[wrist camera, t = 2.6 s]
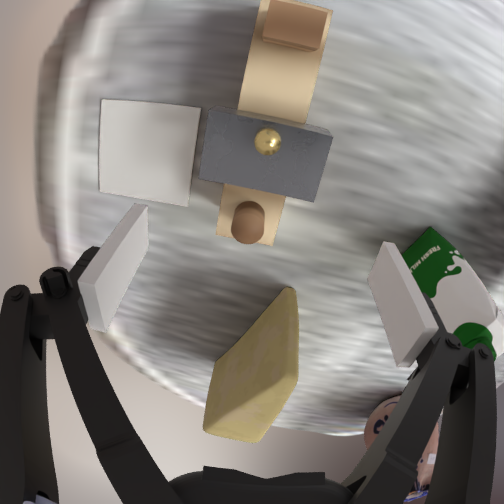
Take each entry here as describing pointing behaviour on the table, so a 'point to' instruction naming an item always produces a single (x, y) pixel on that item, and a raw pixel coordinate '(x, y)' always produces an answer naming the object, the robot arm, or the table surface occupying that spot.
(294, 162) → the lever cap
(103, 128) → the mat
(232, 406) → the cheese
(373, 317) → the table surface
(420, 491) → the ceramic pitcher
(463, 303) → the milk carton
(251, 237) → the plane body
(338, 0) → the table surface
